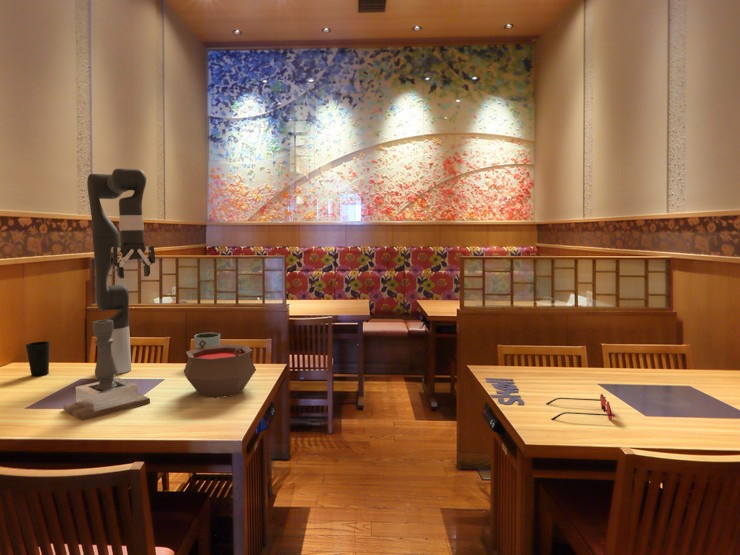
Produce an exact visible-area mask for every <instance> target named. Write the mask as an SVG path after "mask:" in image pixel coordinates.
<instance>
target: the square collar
mask: <svg viewBox="0 0 740 555" xmlns="http://www.w3.org/2000/svg"><path fill="white" fill-rule="evenodd" d="M113 381H114V382H115V384H117V387H116V388H111V389H107V390H102V391H98V390H97V388H96V387H97V386H98V384H99V383H100V382H98V381H96V382H92V383H87V384H83V385H82V384H81V385H78V386H74V387H75V401H76V402H75V403H78V404H80V405H82V406H84V407H86V408H88V409H90V410H91V411H93V412H96V411H100V410H104V409H108V408H111V407H115V406H119V405H123V404H127V403H131V402H135V401H138V394H139V393H138V384H136V383H133V382H131V381H128V380H126V379H122V378H120V377H116V378H115V377H114V380H113Z"/></svg>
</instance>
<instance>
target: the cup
mask: <svg viewBox="0 0 740 555" xmlns="http://www.w3.org/2000/svg"><path fill="white" fill-rule="evenodd" d="M25 348H26V352H27V358H28V364H29V369H30V374H31V377H33V378H37V377H44V376H45V377H46V376H48V375H49V374H50V373H49V372H50V371H49V370H50V348H51V347H50V341H34V342H29V343H26V344H25ZM47 374H48V375H47Z"/></svg>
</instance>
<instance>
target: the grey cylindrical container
mask: <svg viewBox="0 0 740 555" xmlns="http://www.w3.org/2000/svg"><path fill="white" fill-rule="evenodd" d="M193 339H194V347H195V348H194V349H197V348H200V347H201V346H200V345H199V343H200V342H201V340H202V339H203V340H204V341H205V342H206V344H205V346H214V345H221V333H219V332H218V333H217V332H201V333H198V334H195V335H193ZM201 344H202V345H203V344H204V343H203V342H202V343H201Z"/></svg>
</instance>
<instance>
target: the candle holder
mask: <svg viewBox="0 0 740 555" xmlns="http://www.w3.org/2000/svg"><path fill="white" fill-rule="evenodd" d="M113 331H114V327H113V320H105V319H99V320H94V321H92V333H93V335H94V337H95V338H96V339H95V341H94V345H96V346H97V347H96V348H97V359H96V364H95V368H94V376H95V378H96V379H97V382H100V383H99V384H98V386H97V387H96V388H97V390H98V391H102V390H107V389H111V388H116V387H117V384H115V382H114V381H113V380H114V379H115V377H116V375H117V374H116V373H117V369H116V366H115V363H114V360H113V356H112V350H111V345H112V343H113V339H111V336H112V334H113Z"/></svg>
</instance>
